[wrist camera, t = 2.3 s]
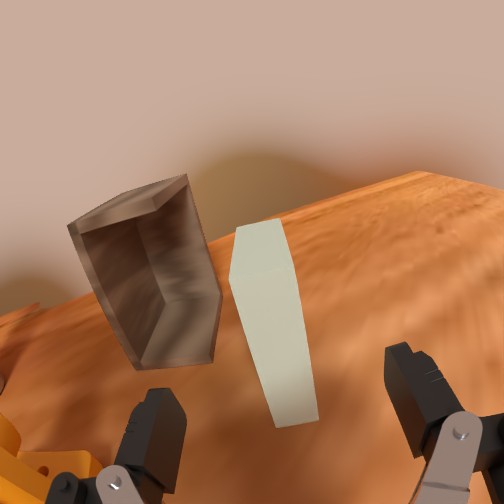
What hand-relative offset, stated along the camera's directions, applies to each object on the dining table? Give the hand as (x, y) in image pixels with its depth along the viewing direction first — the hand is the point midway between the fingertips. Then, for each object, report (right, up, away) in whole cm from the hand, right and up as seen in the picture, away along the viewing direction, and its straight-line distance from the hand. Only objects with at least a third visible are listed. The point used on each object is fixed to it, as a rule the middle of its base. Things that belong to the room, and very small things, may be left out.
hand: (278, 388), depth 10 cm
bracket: (-18, -17, +5) cm, 25 cm away
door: (+3, -7, +15) cm, 17 cm away
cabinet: (-7, -5, +27) cm, 28 cm away
